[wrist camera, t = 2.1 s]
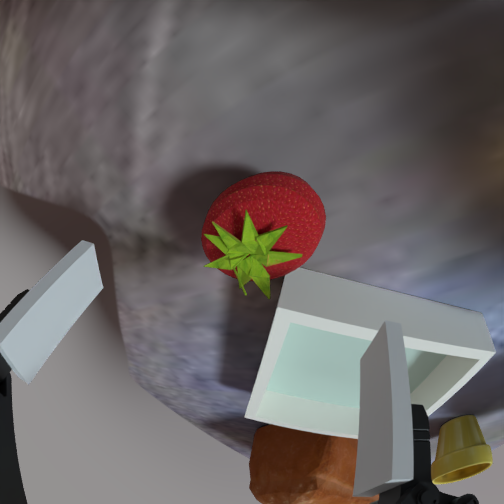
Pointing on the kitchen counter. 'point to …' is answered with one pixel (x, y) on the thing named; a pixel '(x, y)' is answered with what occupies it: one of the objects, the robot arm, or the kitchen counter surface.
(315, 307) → the serving bin
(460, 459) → the plant pot
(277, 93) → the kitchen counter surface
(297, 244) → the strawberry
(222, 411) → the kitchen counter surface
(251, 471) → the bread
